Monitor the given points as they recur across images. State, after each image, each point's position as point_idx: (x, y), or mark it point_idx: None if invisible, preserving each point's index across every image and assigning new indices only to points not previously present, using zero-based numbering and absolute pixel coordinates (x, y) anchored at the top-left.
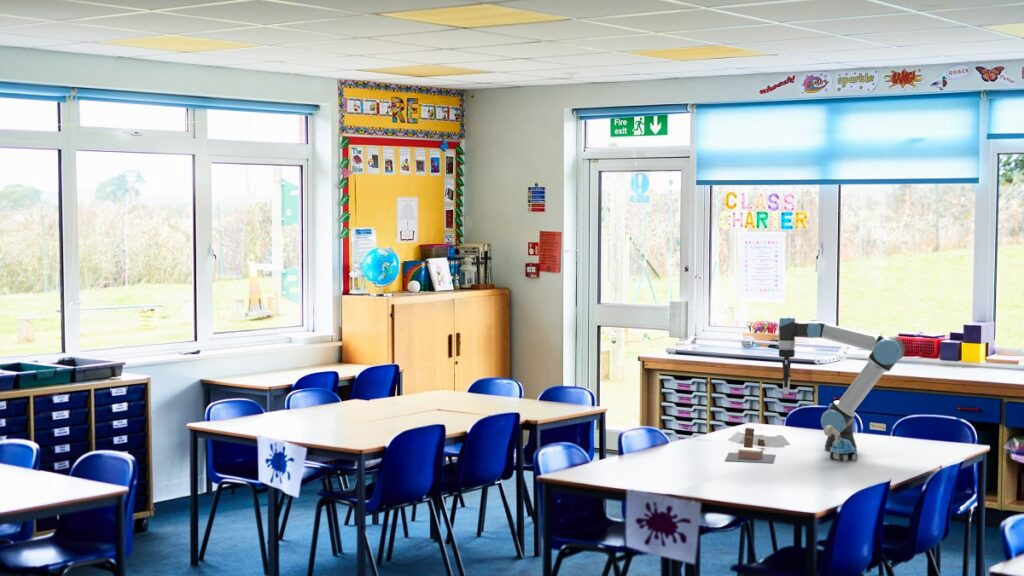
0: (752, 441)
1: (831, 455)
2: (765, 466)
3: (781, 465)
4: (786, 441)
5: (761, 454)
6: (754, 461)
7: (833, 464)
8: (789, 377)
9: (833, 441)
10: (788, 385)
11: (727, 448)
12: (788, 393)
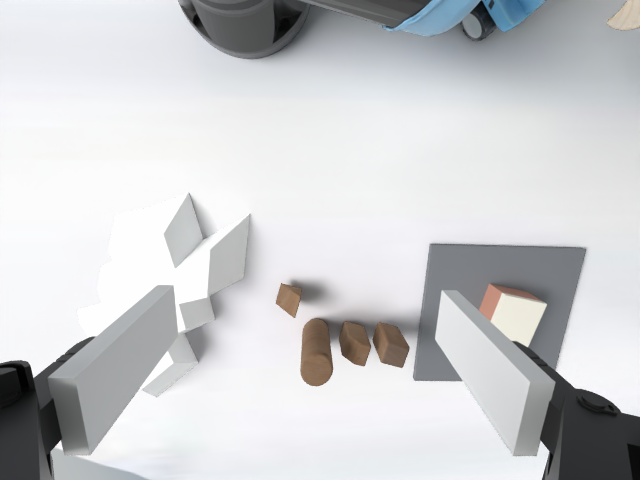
0: (390, 335)
1: (491, 32)
2: (612, 269)
3: (594, 222)
4: (181, 212)
5: (512, 292)
6: (564, 304)
7: (570, 34)
8: (54, 381)
9: (292, 1)
10: (506, 340)
11: (311, 386)
12: (460, 294)
